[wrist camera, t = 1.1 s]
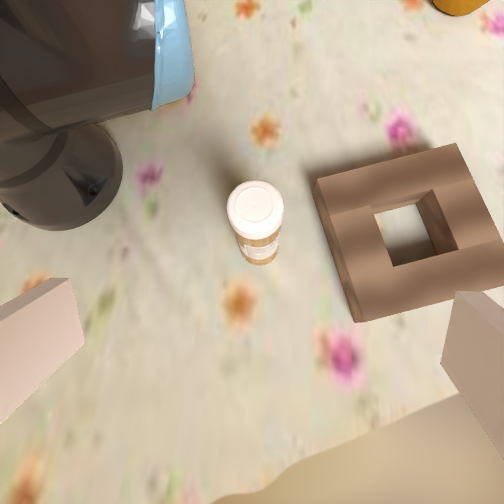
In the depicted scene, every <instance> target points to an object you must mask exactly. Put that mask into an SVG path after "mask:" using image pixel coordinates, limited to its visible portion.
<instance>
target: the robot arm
mask: <svg viewBox="0 0 504 504" xmlns="http://www.w3.org/2000/svg"><path fill="white" fill-rule="evenodd" d="M194 78H195V73H194V62H193V53H192V46H191V38H190V32H189V26H188V19H187V13H186V8H185V2H184V0H0V202H1V203H2V204H3V206H4V207H5V208H6V209H7V210H8V211H9V212H10V213H11V214H12V215H14V216H15V217H17V218H18V219H20V220H22V221H24V222H26V223H28V224H30V225H33V226H35V227H37V228H40V229H44V230H50V231H62V230H69V229H73V228H76V227H79V226H81V225H84V224H86V223H88V222H89V221H91V220H93V219H94V218H96V217H97V216H98V215H99V214H101V213H102V212H103V211H104V210H105V209H106V208H107V207H108V205H109V204H110V203H111V201H112V200H113V198H114V197H115V195H116V193H117V191H118V189H119V186H120V183H121V179H122V171H123V166H122V159H121V155H120V152H119V150H118V148H117V146H116V145H115V143H114V142H113V141H112V139H111V138H110V137H109V136H108V135H107V134H106V132H105V131H104V130H103V129H102V128H101V127H99V126H98V125H97V124H95V123H98V122H101V121H105V120H109V119H113V118H117V117H121V116H125V115H129V114H133V113H136V112H140V111H144V110H148V109H149V110H150V111H154V110H155V109H156V108H157V107H158V106H161V105H164V104H167V103H170V102H174V101H177V100H180V99H183V98H184V97H186V96H187V95H188V94H189V92H190V91H191V89H192V88H193V84H194ZM84 343H85V340H84V336H83V332H82V327H81V323H80V319H79V315H78V311H77V306H76V302H75V298H74V294H73V289H72V285H71V281H70V279H68V278H50V279H48V280H46V281H44V282H43V283H41V284H39V285H37V286H36V287H34V288H32V289H30V290H28V291H27V292H25V293H23V294H21V295H20V296H18V297H16V298H14V299H13V300H11V301H9V302H7V303H5V304H4V305H2V306H0V424H1V423H2V422H4V421H5V420H6V419H7V418H8V417H9V416H10V415H11V414H12V413H13V412H14V411H15V410H16V409H17V408H18V407H19V406H20V405H21V404H22V403H23V402H24V401H25V400H26V399H27V398H28V397H29V396H30V395H31V394H32V393H33V392H35V391H36V390H37V389H38V388H39V387H40V386H41V385H42V384H43V383H44V382H45V381H46V380H47V379H48V378H49V377H50V376H51V375H52V374H53V373H54V372H55V371H56V370H57V369H58V368H59V367H60V366H61V365H62V364H63V363H64V362H65V361H67V360H68V359H69V358H70V357H71V356H72V355H73V354H74V353H75V352H76V351H77V350H78V349H79V348H80V347H81V346H82V345H83V344H84ZM440 364H441V365H442V367H443V368H444V370H445V371H446V373H447V374H448V376H449V377H450V379H451V380H452V382H453V384H454V385H455V387H456V388H457V390H458V391H459V393H460V394H461V396H462V397H463V399H464V400H465V402H466V403H467V405H468V406H469V408H470V409H471V411H472V412H473V414H474V415H475V417H476V418H477V420H478V421H479V423H480V424H481V426H482V427H483V429H484V430H485V432H486V433H487V435H488V436H489V438H490V439H491V441H492V442H493V444H494V445H495V447H496V448H497V450H498V451H499V453H500V454H501V456H502V457H503V459H504V309H503V308H502V307H501V306H500V305H498V304H497V303H496V302H495V301H493V300H492V299H491V298H490V297H488V296H487V295H486V294H485V293H483V292H474V291H456V293H455V297H454V302H453V307H452V311H451V316H450V321H449V325H448V330H447V335H446V339H445V344H444V349H443V353H442V358H441V363H440Z"/></svg>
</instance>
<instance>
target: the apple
mask: <svg viewBox="0 0 504 504" xmlns="http://www.w3.org/2000/svg"><path fill="white" fill-rule="evenodd" d="M488 1H489V0H433V3H434V4H435V5H436V6H437V7H438V8H439V9H440V10H442V11H444V12H446V13H448V14H451V15H455V16H461V15H467V14H470V13H471V12H473V11H475V10H476V9H478V8H479V7H481V6H482V5H484V4H485V3H487V2H488Z"/></svg>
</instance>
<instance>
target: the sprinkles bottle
mask: <svg viewBox="0 0 504 504" xmlns="http://www.w3.org/2000/svg"><path fill="white" fill-rule="evenodd" d="M283 214H284V203H283V199H282V196H281V194H280V193H279V191H278V190H277V189H276V188H275V187H274V186H273V185H271V184H269V183H267V182H265V181H261V180H251V181H247V182H244V183H242V184H240V185H238V186H237V187H236V188H235V189H234V190H233V191H232V192H231V194H230V196H229V198H228V201H227V215H228V218H229V221H230V224H231V226H232V227H233V229H234V230H235V232H236V235H237V240H238V243H239V246H240V248H241V252H242V255H243V257H244V258H245V259H246V260H247V261H248V262H249V263H251V264H254V265H266V264H268V263H270V262H271V261H272V260H273V259H274V258H275V257H276V255H277V253H278V243H279V235H280V227H281V225H280V224H281V222H282V219H283Z"/></svg>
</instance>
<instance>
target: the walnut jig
mask: <svg viewBox="0 0 504 504" xmlns="http://www.w3.org/2000/svg"><path fill="white" fill-rule="evenodd" d="M312 194H313V197H314V200H315V203H316V207H317V210H318V213H319V216H320V219H321V222H322V225H323V228H324V231H325V234H326V237H327V240H328V243H329V246H330V249H331V252H332V255H333V258H334V261H335V264H336V267H337V270H338V273H339V276H340V279H341V283H342V286H343V289H344V292H345V295H346V298H347V301H348V304H349V307H350V310H351V313H352V316H353V319H354V322H355V323H357V322H367V321H371V320H375V319H379V318H382V317H386V316H390V315H394V314H398V313H401V312H405V311H409V310H413V309H417V308H420V307H424V306H428V305H432V304H436V303H439V302H443V301H447V300H451V299H454V297H455V293H456V291H474V292H481V291H485V290H489V289H492V288H496V287H500V286H504V243H503V241H502V239H501V236H500V234H499V232H498V230H497V228H496V226H495V224H494V222H493V220H492V218H491V215H490V213H489V211H488V209H487V207H486V205H485V203H484V201H483V199H482V197H481V194H480V192H479V190H478V188H477V186H476V184H475V182H474V180H473V178H472V176H471V173H470V171H469V169H468V167H467V165H466V163H465V161H464V159H463V157H462V155H461V152H460V150H459V148H458V146H457V144H456V143H453V144H450V145H446V146H442V147H438V148H434V149H430V150H426V151H423V152H419V153H415V154H411V155H407V156H403V157H399V158H395V159H392V160H388V161H384V162H380V163H376V164H372V165H368V166H365V167H361V168H357V169H353V170H349V171H345V172H341V173H338V174H334V175H330V176H326V177H322V178H318V179H317V181H316V184H315V187H314V190H313V193H312ZM415 203H416V205H417V207H418V210H419V212H420V215H421V217H422V219H423V222H424V224H425V227H426V229H427V232H428V234H429V236H430V239H431V241H432V244H433V246H434V248H435V251H436V253H437V256H433V257H429V258H426V259H422V260H418V261H414V262H410V263H406V264H403V265H399V266H395V267H393V265H392V262H391V260H390V257H389V254H388V252H387V249H386V246H385V244H384V241H383V238H382V236H381V233H380V230H379V228H378V225H377V222H376V220H375V217H374V214H377V213H381V212H384V211H388V210H392V209H396V208H400V207H404V206H407V205H411V204H415Z"/></svg>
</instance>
